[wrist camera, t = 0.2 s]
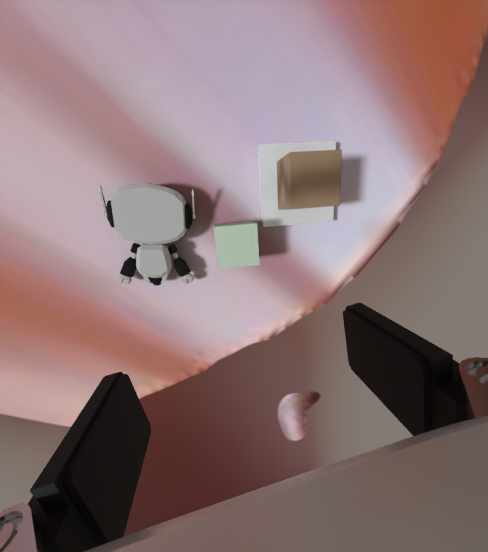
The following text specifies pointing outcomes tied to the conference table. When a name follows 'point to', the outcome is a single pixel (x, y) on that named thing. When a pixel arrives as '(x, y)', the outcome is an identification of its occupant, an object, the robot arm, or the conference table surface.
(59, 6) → the conference table surface
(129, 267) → the robot toy
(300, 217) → the build plate
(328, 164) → the walnut block
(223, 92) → the conference table surface
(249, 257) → the green block
